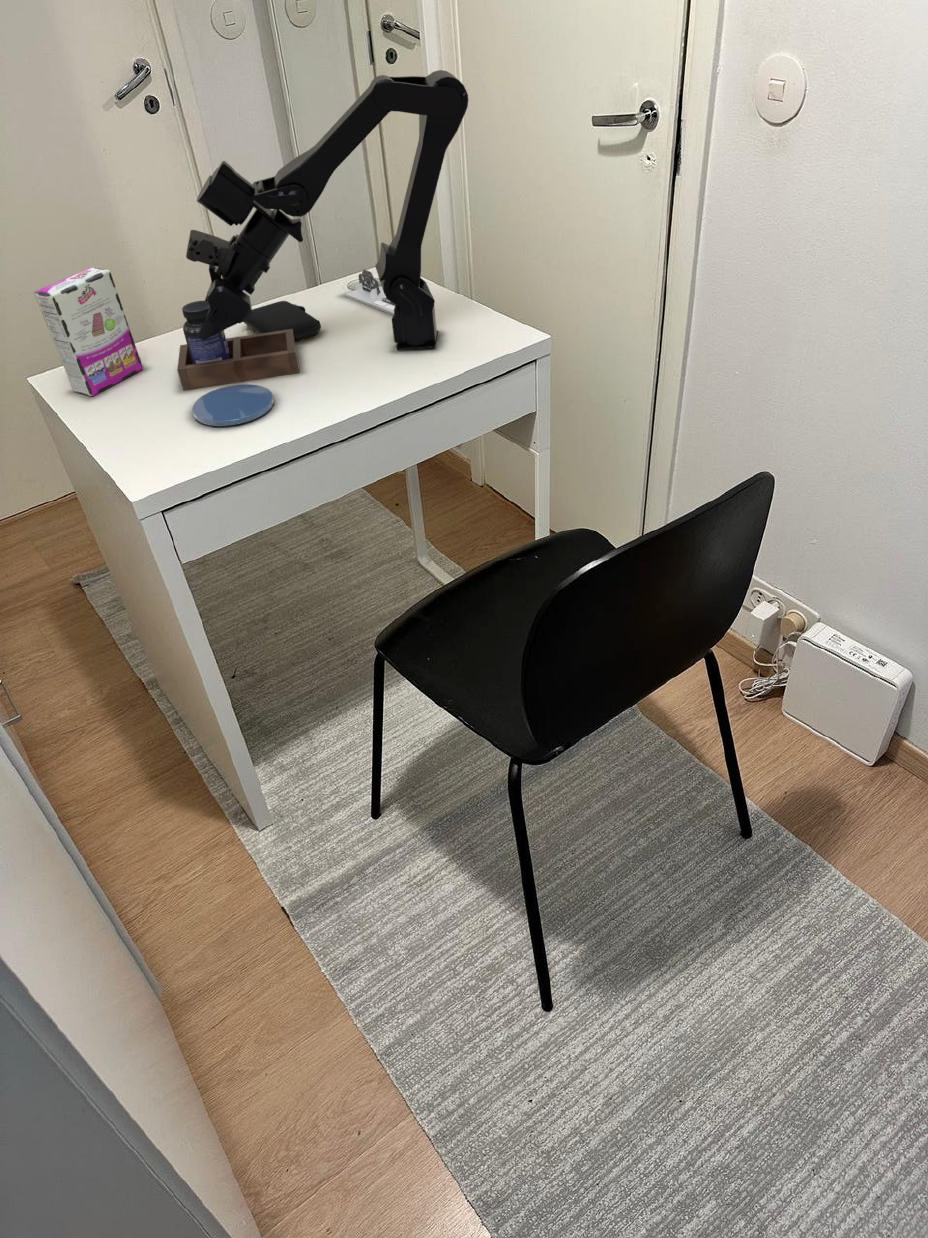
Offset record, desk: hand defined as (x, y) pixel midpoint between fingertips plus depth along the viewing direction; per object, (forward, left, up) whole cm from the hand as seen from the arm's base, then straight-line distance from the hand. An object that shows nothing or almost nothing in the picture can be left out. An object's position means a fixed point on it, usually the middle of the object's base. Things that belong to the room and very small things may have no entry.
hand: (201, 327), depth 141 cm
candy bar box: (+17, +1, -8) cm, 19 cm away
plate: (-7, +13, -8) cm, 16 cm away
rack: (-4, -1, -8) cm, 9 cm away
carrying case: (-8, -16, -8) cm, 20 cm away
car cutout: (-24, -28, -8) cm, 38 cm away
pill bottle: (0, 0, -8) cm, 8 cm away
